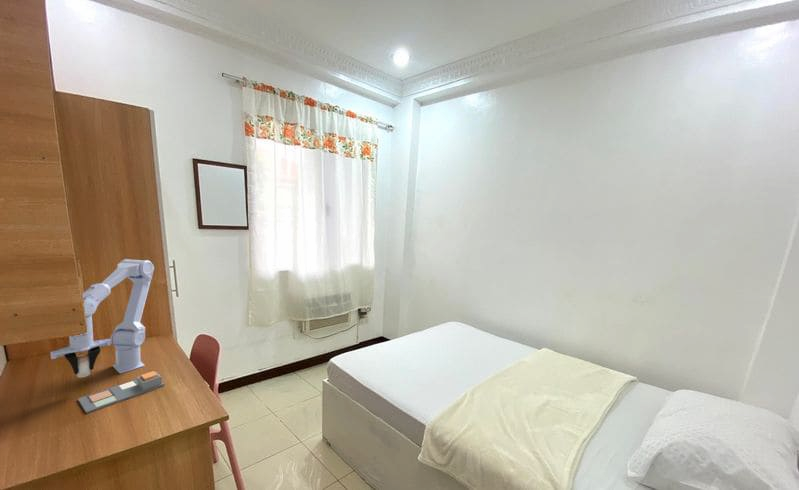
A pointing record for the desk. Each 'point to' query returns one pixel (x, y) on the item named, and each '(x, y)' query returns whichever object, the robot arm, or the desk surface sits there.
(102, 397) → the grey sorting board
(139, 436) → the desk surface
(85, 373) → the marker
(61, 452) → the desk surface
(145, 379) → the button
